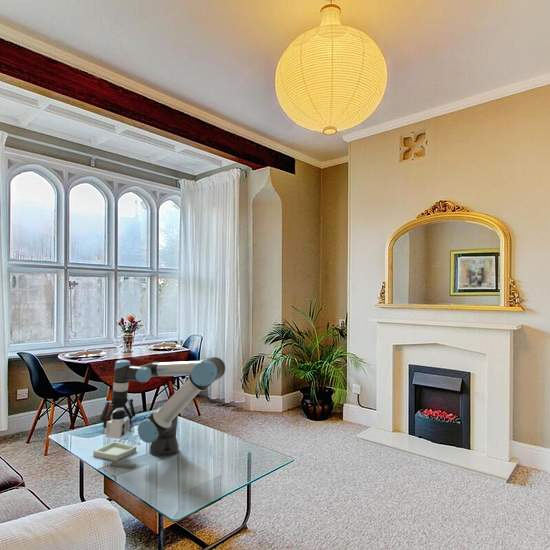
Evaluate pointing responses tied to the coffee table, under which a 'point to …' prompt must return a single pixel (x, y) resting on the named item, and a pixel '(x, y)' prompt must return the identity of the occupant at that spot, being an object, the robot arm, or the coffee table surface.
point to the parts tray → (114, 451)
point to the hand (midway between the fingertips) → (116, 432)
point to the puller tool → (123, 465)
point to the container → (117, 425)
